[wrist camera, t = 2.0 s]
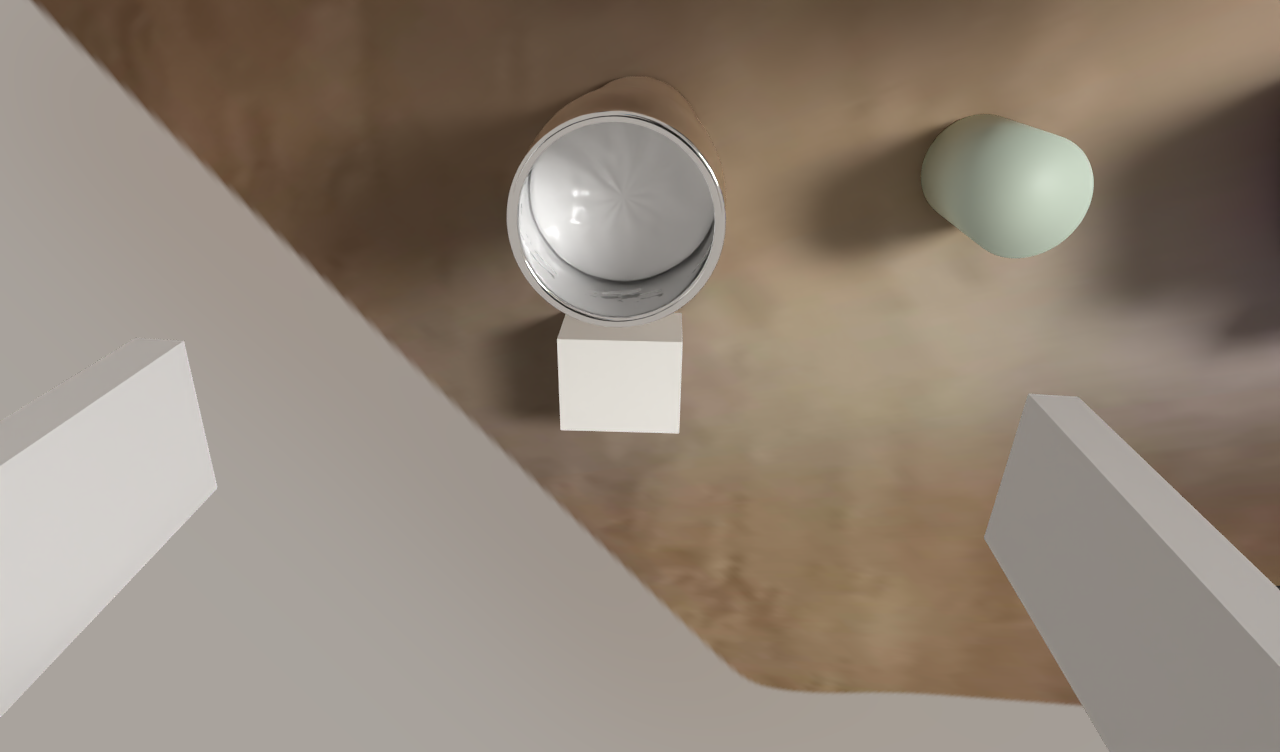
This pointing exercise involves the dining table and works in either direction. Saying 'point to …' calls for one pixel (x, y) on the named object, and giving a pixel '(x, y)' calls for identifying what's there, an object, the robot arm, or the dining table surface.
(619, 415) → the off-white brick
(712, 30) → the dining table surface
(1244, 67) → the dining table surface
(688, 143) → the beer glass
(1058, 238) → the sage cylinder
